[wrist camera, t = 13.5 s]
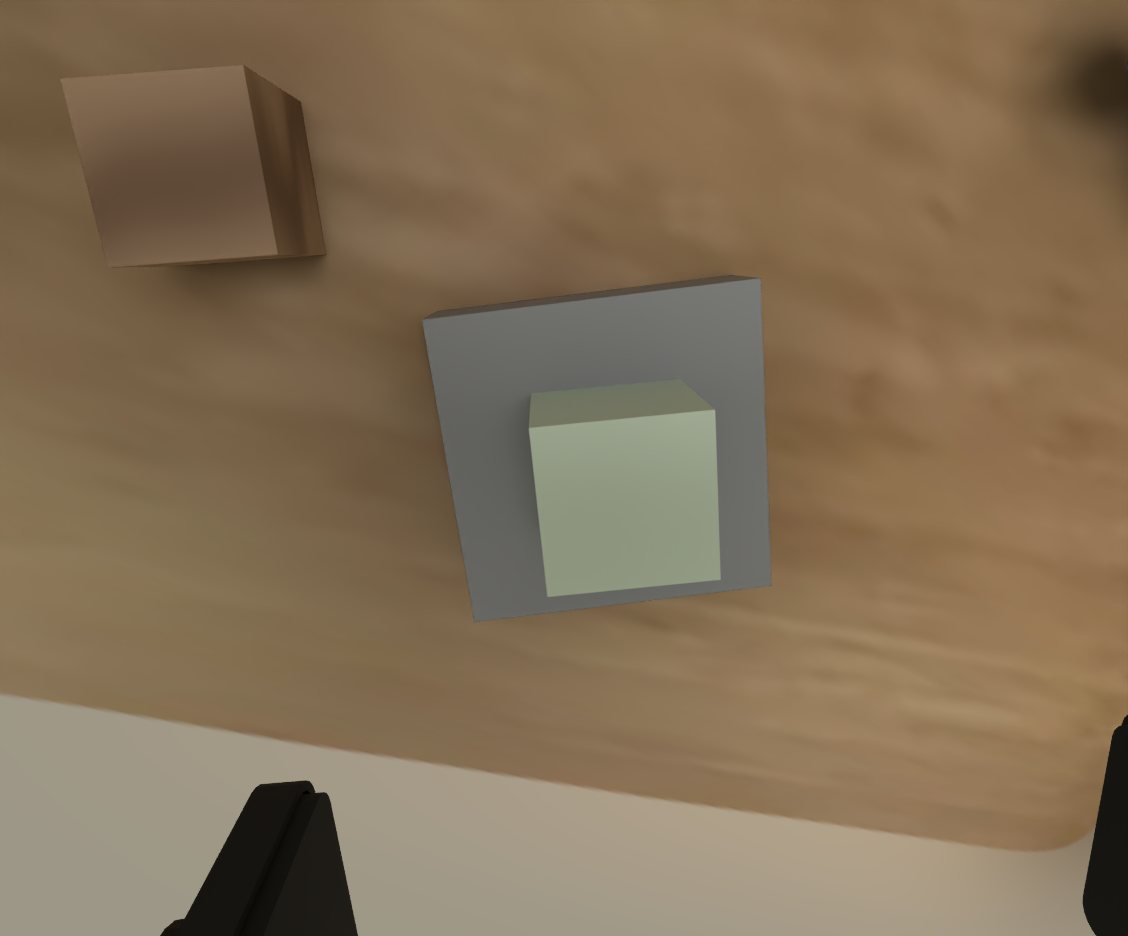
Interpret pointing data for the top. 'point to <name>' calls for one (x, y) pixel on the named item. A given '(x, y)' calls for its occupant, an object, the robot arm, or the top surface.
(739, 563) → the base block
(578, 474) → the sage cube
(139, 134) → the walnut cube
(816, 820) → the top surface
